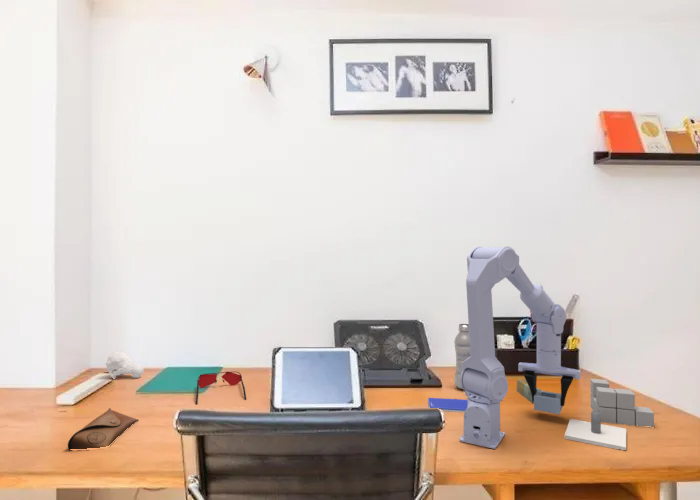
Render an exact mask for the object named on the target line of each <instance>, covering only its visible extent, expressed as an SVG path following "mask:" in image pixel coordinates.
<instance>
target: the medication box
mask: <svg viewBox="0 0 700 500" xmlns="http://www.w3.org/2000/svg"><path fill="white" fill-rule="evenodd" d="M536 390H537V391H538V390H540V391H543V390H542V389H541V388H539V387H537V386H536ZM516 392H517V393H518V394H520V395H521V396H522V397H524V398H525V399H526V400H528V402H530V403H531V404H533V405H534V401H532V395H531V391H530V388H529V385H528V383H527V381H526V379H525V378H524V379H523V378H516Z"/></svg>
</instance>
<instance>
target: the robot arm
mask: <svg viewBox="0 0 700 500" xmlns="http://www.w3.org/2000/svg"><path fill="white" fill-rule="evenodd" d="M466 263H467V266H466V267H467V274H466V280H465V281H466V283H465V284H466V285H465V287H466V301H467V318H468V320H467V321H468V324H469V338H470V355H471V356H470V357H469V358H467V359H466V360H465V361H464V362H462V373H461V376H460V384H461V387H462V388H463V389H462V390H464V396H466V397H467V398H466V400H467V409H466V410H465V412H463V434H462V435H461V436H460V437H459V442H463V443H467V444H471V445H472V444H473V445H477V446H479V447H480V446H481V447H485V448H488V449H489V448H490V449H495V450H496V449H497V447H498V445H500V443H501V441H502V439H503V438H504V437H505V435H506V433H505V432H504V431H501V402H503V401H504V399H505V398H506V396H507V394H508V390H509V382H508V378H507V376H506V374H505V367H504V366H503V364H502V363H501V362H500V361H499V360H498V358H497V357H496V349H495V348H496V347H495V345H496V344H495V331H494V329H495V327H494V312H493V311H494V310H493V295H492V294H493V293H492V290H493V287H494V286H495V285H496V284H497V283H500V282H501V281H503V280H504V279H505V278H506V279H507V281H509V282H510V283H511V285H513V286H514V287H515V288H516V289H517V290H518V291H519V292H520V294H519V298H520V300H521V301H522V303H523V304H524V305H525V306H526V307H527V308H528V309H529V312H530V314H531V319H532V322H533V323H535V324H536V363H532V362H530V363H529V362H519V363H518V365H517V366H518V367H517V368H518V369H517V371H518V372H524V374H523V377H524V379H525V380H526V381H527V383H528V385H529V388H530V391H531V395H532V401H534V395H535V394H536V392H537V390H536V387H537V376H538V374H542V375H549V376H550V375H551V376H556V377H561V378H560V394H561V406H563V407H565V403H566V397H567V394H568V391H569V388H570V386H571V385H572V382H573V380H580V379H581V370H580V369H575V368H570V367H565V366H562V365H561V364H562V359H561V358H562V357H561V356H562V334H563V332H564V326H565V323H566V321H567V313H566V310H565V309H564V307H562V306H561V305H560V304H559V303H558V304H557V303H555V301H553V300H552V298H551V297H550V296H549V294H547V292H546V291H545V290H544V287H543V286H542V285H541V284H538V283H532V281H531V279H530V278H529V277H528V275H527V274H526V272H525V271H524V269H523V268H522V266H521V265H520V256H519V254H517V253H516V251H515V249H514V248H512V247H511V246H497V247H496V246H493V247H491V246H488V247H487V246H484V247H482V246H476V247H474V248H473V249H472V250H471V251H470V253H469V254H468V255H467V256H466Z"/></svg>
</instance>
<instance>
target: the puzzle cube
mask: <svg viewBox="0 0 700 500" xmlns="http://www.w3.org/2000/svg"><path fill="white" fill-rule="evenodd" d="M590 408H591V411H592V412H593V411H594V412H599V413H601V423H607V424H616V425H624V424H626V426H632V425H635V426H636V425H638V426H637V427H641V426H651V427H654V428H655V412H654V411H653V410H652V409H651V408H650V407H647V406H646V407H645V406H636V394H635V393H634V392H633V391H632V389H624V388H612V387H610V383H609V382H608V380H607V379H600V378H599V379H598V378H590Z"/></svg>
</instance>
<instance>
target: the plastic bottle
mask: <svg viewBox="0 0 700 500" xmlns="http://www.w3.org/2000/svg"><path fill="white" fill-rule="evenodd" d="M458 331H459V333H457V334H456V336H455V337H454V349H455V362H456V363H455V374H454V379H453V381H454V385H455V386H456V388H457V389H461V390H463V388H462V387H461V384H460V376H461V373H462V362H464V361H465V360H466V359H467V358H469V357H470V356H471V355H470V338H469V323H459V325H458Z"/></svg>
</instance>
